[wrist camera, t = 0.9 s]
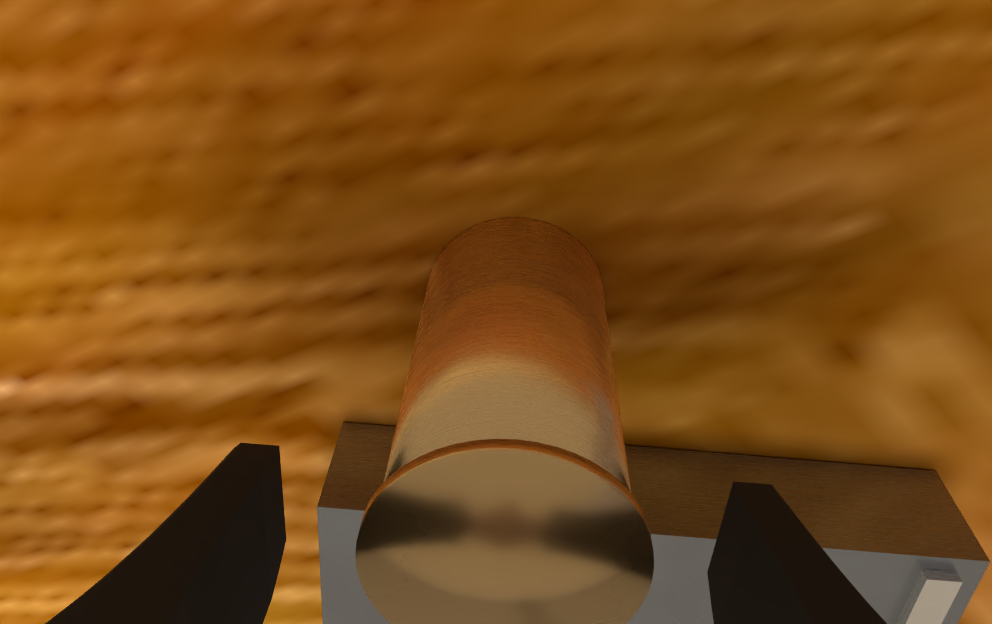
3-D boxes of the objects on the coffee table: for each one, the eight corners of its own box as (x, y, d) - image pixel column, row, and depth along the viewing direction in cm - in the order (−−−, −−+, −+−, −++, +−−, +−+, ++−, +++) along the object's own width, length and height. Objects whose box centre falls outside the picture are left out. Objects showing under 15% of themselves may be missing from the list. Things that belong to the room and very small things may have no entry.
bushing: (625, 217, 18) (678, 467, 11) (597, 383, 21) (629, 674, 14) (421, 201, 18) (353, 440, 11) (416, 369, 21) (357, 653, 14)
